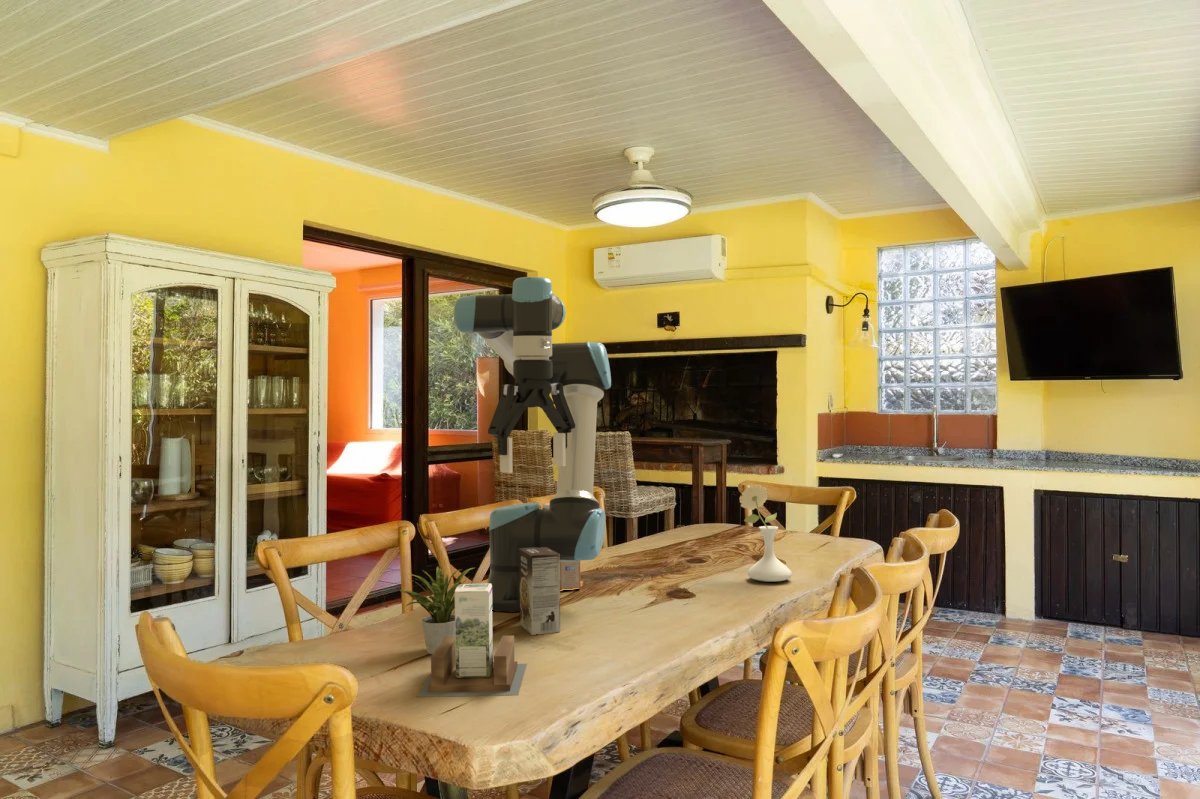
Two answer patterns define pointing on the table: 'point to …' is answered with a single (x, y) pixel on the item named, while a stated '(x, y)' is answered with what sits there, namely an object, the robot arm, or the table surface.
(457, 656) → the syrup box
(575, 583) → the cracker box
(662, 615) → the table surface
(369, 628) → the table surface
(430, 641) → the house plant
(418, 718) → the table surface
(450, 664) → the rack
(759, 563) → the flower in vase
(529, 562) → the coffee box
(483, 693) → the mat
